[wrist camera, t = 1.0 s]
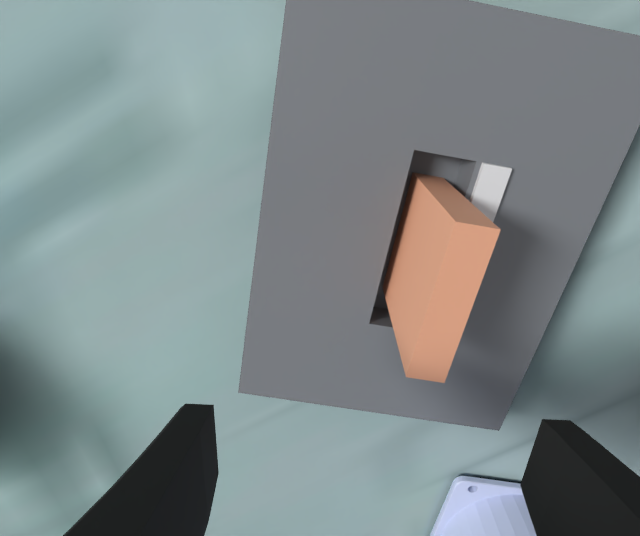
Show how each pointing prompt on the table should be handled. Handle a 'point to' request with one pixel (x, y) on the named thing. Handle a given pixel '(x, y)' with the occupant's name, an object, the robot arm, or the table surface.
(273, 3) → the table surface
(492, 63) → the gray slotted plate
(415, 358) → the upright peach slab
